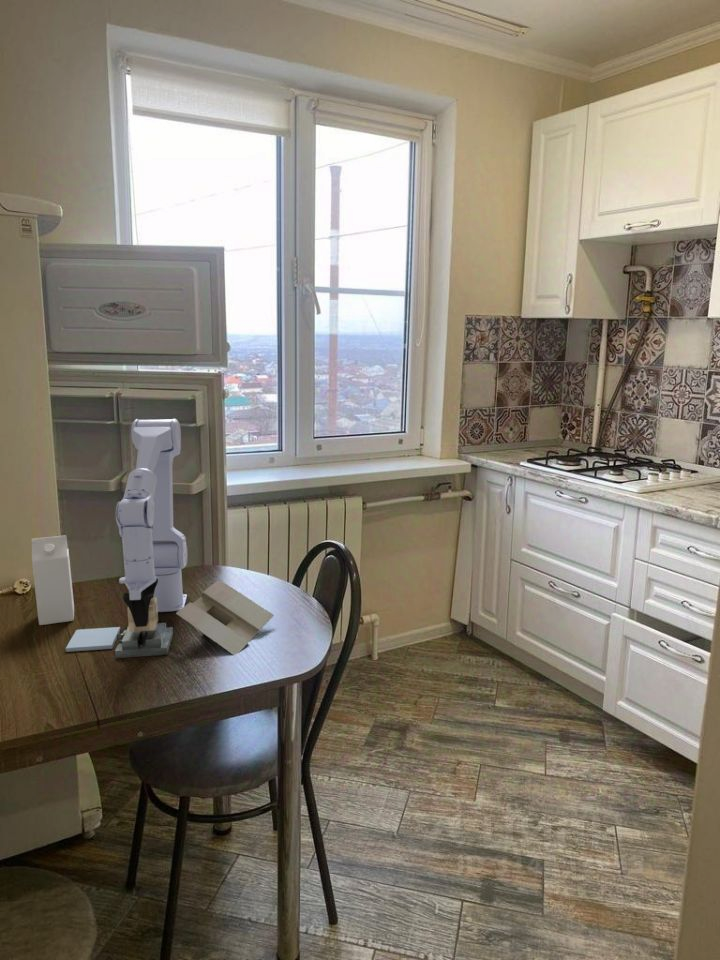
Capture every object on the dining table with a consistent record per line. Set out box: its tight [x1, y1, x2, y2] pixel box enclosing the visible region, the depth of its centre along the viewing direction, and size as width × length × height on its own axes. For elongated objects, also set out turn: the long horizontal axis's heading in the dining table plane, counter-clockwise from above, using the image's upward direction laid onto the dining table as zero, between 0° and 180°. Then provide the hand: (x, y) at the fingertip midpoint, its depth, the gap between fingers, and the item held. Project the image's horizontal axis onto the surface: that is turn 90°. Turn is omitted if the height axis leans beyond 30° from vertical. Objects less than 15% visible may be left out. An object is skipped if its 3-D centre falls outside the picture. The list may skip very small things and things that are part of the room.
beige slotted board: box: [175, 579, 275, 656], centre depth 150 cm, size 16×9×15 cm
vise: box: [114, 622, 174, 659], centre depth 144 cm, size 10×10×6 cm
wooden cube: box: [127, 598, 159, 632], centre depth 143 cm, size 5×5×5 cm
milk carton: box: [30, 535, 75, 626], centre depth 157 cm, size 7×7×19 cm
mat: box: [65, 626, 121, 653], centre depth 147 cm, size 9×9×1 cm
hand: (143, 620), depth 143 cm, fingers closed on wooden cube, 5 cm apart
